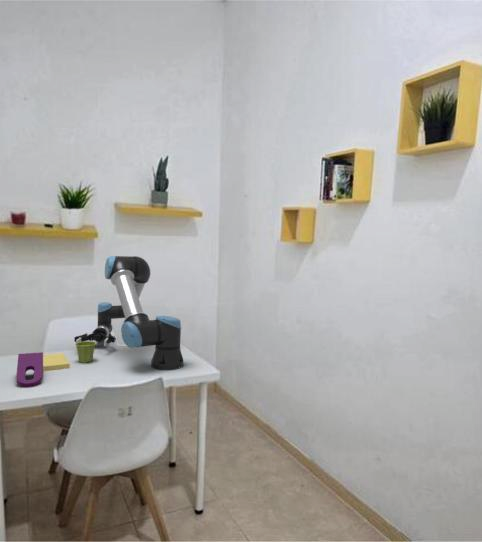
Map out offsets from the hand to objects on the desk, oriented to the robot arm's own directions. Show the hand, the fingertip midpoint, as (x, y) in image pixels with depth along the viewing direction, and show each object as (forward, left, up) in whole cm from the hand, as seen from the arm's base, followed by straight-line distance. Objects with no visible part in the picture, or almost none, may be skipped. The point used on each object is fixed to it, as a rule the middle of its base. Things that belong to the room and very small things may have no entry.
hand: (90, 343), depth 211 cm
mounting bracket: (-27, +29, -7) cm, 40 cm away
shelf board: (-7, +19, -6) cm, 21 cm away
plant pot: (-9, +4, -6) cm, 12 cm away
